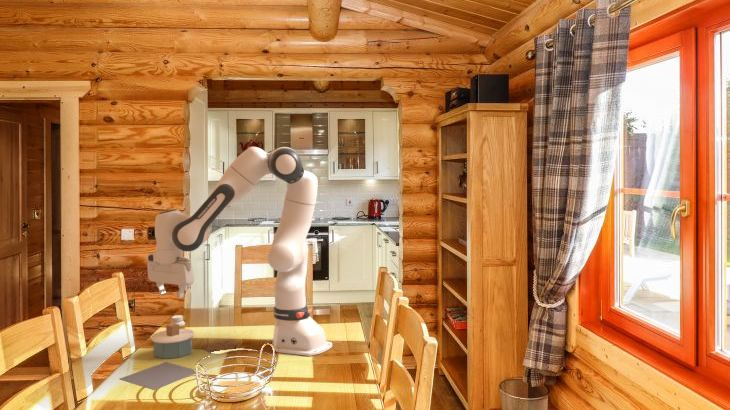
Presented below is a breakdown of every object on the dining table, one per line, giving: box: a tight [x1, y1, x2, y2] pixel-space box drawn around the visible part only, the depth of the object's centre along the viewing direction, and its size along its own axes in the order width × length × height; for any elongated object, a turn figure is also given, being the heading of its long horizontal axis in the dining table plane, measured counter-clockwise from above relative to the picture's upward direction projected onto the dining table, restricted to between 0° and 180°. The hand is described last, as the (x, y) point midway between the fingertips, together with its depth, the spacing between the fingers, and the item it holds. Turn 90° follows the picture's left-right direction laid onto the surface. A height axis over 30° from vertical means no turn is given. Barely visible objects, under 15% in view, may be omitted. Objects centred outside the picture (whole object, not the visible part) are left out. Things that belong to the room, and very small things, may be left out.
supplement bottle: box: [169, 314, 186, 329], centre depth 203 cm, size 5×5×10 cm
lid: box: [151, 323, 195, 343], centre depth 188 cm, size 14×14×4 cm
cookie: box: [202, 340, 246, 354], centre depth 194 cm, size 12×12×1 cm
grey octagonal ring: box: [153, 337, 193, 360], centre depth 189 cm, size 12×12×6 cm
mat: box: [119, 361, 196, 391], centre depth 168 cm, size 17×17×1 cm
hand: (171, 295), depth 188 cm, fingers open, 8 cm apart
